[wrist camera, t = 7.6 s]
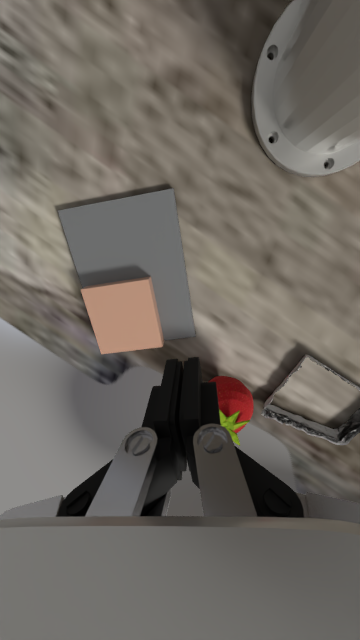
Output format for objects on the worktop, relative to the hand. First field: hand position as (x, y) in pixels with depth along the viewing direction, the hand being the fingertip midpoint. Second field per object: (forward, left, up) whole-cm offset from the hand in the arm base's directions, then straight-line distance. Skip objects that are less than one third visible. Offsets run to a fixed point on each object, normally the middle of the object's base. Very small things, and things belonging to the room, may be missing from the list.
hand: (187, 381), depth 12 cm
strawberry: (+12, +2, -16) cm, 20 cm away
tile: (+1, -4, -14) cm, 15 cm away
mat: (-3, -6, -16) cm, 17 cm away
